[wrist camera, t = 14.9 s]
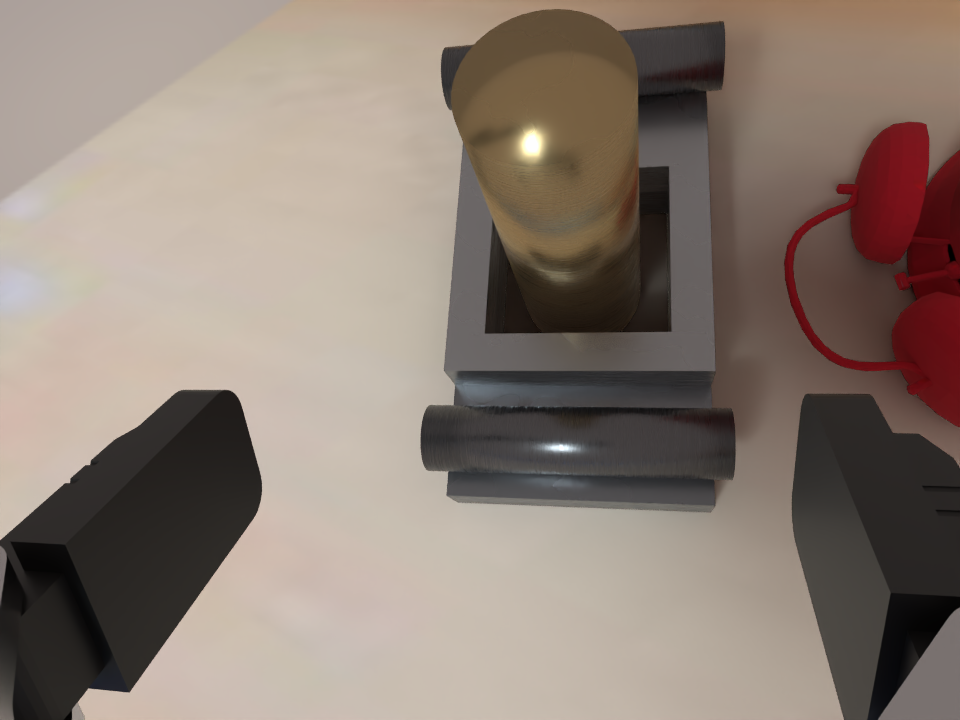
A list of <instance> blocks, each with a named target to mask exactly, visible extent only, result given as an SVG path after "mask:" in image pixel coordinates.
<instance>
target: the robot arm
mask: <svg viewBox="0 0 960 720" xmlns="http://www.w3.org/2000/svg"><path fill="white" fill-rule="evenodd" d="M261 495H262V481H261V475H260V471H259V467H258V464H257V460H256V456H255V453H254V449H253V446H252V442H251V438H250V435H249V431H248V427H247V424H246V420H245V416H244V413H243V409H242V406H241V403H240V401H239V399H238V397H237V396H236V395H235V394H234V393H233V392H231V391H229V390H181V391H178V392H177V393H175V394H174V395H173V396H172V397H171V398H170V399H168V400H167V401H166V402H165V403H164V404H163V405H162V406H161V407H160V408H158V409H157V410H156V411H155V412H154V413H153V414H152V415H151V416H150V417H148V418H147V419H146V420H145V421H144V422H143V423H142V424H141V425H139V426H138V427H137V428H135V429H133V430H131V431H129V432H128V433H126V434H124V435H122V436H120V437H119V438H117V439H115V440H114V441H113V442H111V443H110V444H109V445H108V446H107V447H106V448H105V449H104V450H102V451H101V452H100V453H99V454H98V455H97V456H96V457H94V458H93V459H92V460H91V464H90V465H85V466H84V467H83V468H82V469H81V470H80V471H79V472H77V473H76V474H75V475H74V476H73V477H72V478H71V481H70V483H65V484H64V485H63V486H62V487H60V488H59V489H58V490H57V491H56V492H55V493H54V494H52V495H51V496H50V497H49V498H48V499H47V500H46V501H44V502H43V503H42V504H41V505H40V506H39V507H38V508H37V509H35V510H34V511H33V512H32V513H31V514H30V515H29V516H27V517H26V518H25V519H24V520H23V521H22V522H21V523H20V524H18V525H17V526H16V527H15V528H14V529H13V530H12V531H10V532H9V533H8V534H7V535H6V536H5V537H4V538H2V539H1V540H0V720H85V716H84V714H83V712H82V710H81V708H80V706H79V704H78V701H79V700H80V698H81V697H82V696H83V695H84V693H85V692H86V691H87V689H88V688H90V689H100V690H110V691H120V692H130V691H131V689H132V688H133V687H134V685H135V684H136V682H137V681H138V680H139V678H140V677H141V675H142V674H143V673H144V671H145V670H146V668H147V667H148V666H149V664H150V663H151V661H152V660H153V659H154V657H155V656H156V654H157V653H158V652H159V650H160V649H161V647H162V646H163V645H164V643H165V642H166V640H167V639H168V638H169V636H170V635H171V633H172V632H173V631H174V629H175V628H176V626H177V625H178V624H179V622H180V621H181V619H182V618H183V617H184V615H185V614H186V612H187V611H188V610H189V608H190V607H191V605H192V604H193V603H194V601H195V600H196V598H197V597H198V596H199V594H200V593H201V591H202V590H203V589H204V587H205V586H206V584H207V583H208V582H209V580H210V579H211V577H212V576H213V575H214V573H215V572H216V570H217V569H218V568H219V566H220V565H221V563H222V562H223V561H224V559H225V558H226V556H227V555H228V554H229V552H230V551H231V549H232V548H233V547H234V545H235V544H236V542H237V541H238V540H239V538H240V537H241V535H242V534H243V533H244V531H245V530H246V528H247V527H248V526H249V524H250V523H251V521H252V520H253V519H254V517H255V515H256V513H257V511H258V508H259V505H260V501H261ZM792 522H793V531H794V537H795V542H796V546H797V550H798V553H799V557H800V561H801V564H802V568H803V571H804V575H805V579H806V582H807V586H808V590H809V593H810V597H811V601H812V604H813V608H814V612H815V615H816V619H817V622H818V626H819V630H820V633H821V637H822V641H823V644H824V648H825V652H826V655H827V659H828V663H829V666H830V670H831V673H832V677H833V681H834V684H835V688H836V692H837V695H838V699H839V703H840V706H841V710H842V714H843V717H844V720H960V468H959V466H958V465H957V463H956V461H955V460H954V458H952V457H951V456H949V455H948V454H947V453H945V452H944V451H942V450H941V449H940V448H938V447H937V446H935V445H934V444H932V443H931V442H930V441H928V440H927V439H925V438H924V437H923V436H921V435H920V434H898V433H892V431H891V429H890V427H889V425H888V423H887V422H886V420H885V418H884V416H883V414H882V413H881V411H880V409H879V407H878V405H877V404H876V402H875V400H874V398H873V397H872V396H871V395H870V394H806V395H805V396H804V398H803V402H802V406H801V413H800V422H799V432H798V442H797V452H796V462H795V471H794V481H793V491H792Z"/></svg>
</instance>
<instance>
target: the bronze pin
mask: <svg viewBox="0 0 960 720" xmlns="http://www.w3.org/2000/svg"><path fill="white" fill-rule="evenodd" d="M451 105H452V112H453V116H454V119H455V122H456V125H457V127H458V130H459V133H460V135H461V138H462V140H463V143H464V146H465V148H466V151H467V153H468V156H469V159H470V161H471V164H472V167H473V169H474V172H475V174H476V177H477V180H478V182H479V185H480V187H481V190H482V193H483V195H484V198H485V200H486V203H487V206H488V208H489V211H490V213H491V216H492V219H493V221H494V224H495V226H496V229H497V232H498V234H499V237H500V240H501V242H502V245H503V247H504V250H505V253H506V255H507V258H508V260H509V263H510V266H511V268H512V271H513V273H514V276H515V279H516V281H517V284H518V286H519V289H520V292H521V294H522V297H523V299H524V302H525V305H526V307H527V310H528V312H529V315H530V317H531V319H532V320H533V322H534V323H535V325H536V326H537V327H538V328H539V329H540V330H541V331H542V332H543V333H609V332H619V331H621V330H622V329H623V328H624V327H625V326H626V325H627V324H628V323H629V321H630V320H631V318H632V317H633V315H634V313H635V311H636V309H637V306H638V303H639V299H640V220H639V137H638V74H637V65H636V61H635V57H634V55H633V53H632V50H631V48H630V47H629V45H628V43H627V42H626V40H625V39H624V38H623V37H622V36H621V34H620V33H619V32H618V31H617V30H615V29H614V28H613V27H612V26H611V25H609V24H607V23H606V22H604V21H603V20H601V19H599V18H596V17H594V16H592V15H589V14H586V13H582V12H578V11H572V10H561V9H553V10H541V11H535V12H531V13H527V14H523V15H520V16H517V17H515V18H512V19H510V20H508V21H506V22H504V23H502V24H500V25H498V26H497V27H495V28H494V29H492V30H490V31H489V32H488V33H487V34H485V35H484V36H483V37H481V38H480V39H479V40H478V41H477V42H476V43H475V44H474V45H473V47H472V48H471V49H470V50H469V51H468V53H467V54H466V55H465V57H464V59H463V60H462V62H461V63H460V65H459V68H458V70H457V72H456V75H455V78H454V81H453V85H452V91H451Z"/></svg>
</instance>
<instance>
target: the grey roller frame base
mask: <svg viewBox="0 0 960 720" xmlns="http://www.w3.org/2000/svg"><path fill="white" fill-rule="evenodd" d="M618 32H619V33H620V34H621V36H622V37H623V38H624V39H625V40H626V42H627V43H628V45H629V47H630V48H631V50H632V53H633V55H634V57H635V61H636V65H637V74H638V137H639V214H657V213H667V286H668V332H609V333H509V334H504V318H505V301H506V284H507V267H508V258H507V255H506V253H505V250H504V247H503V245H502V242H501V240H500V237H499V234H498V232H497V229H496V226H495V224H494V221H493V219H492V216H491V213H490V211H489V208H488V206H487V203H486V200H485V198H484V195H483V193H482V190H481V187H480V185H479V182H478V180H477V177H476V174H475V172H474V169H473V167H472V164H471V161H470V159H469V156H468V153H467V151H466V148H465V146H464V143H463V151H462V162H461V174H460V186H459V198H458V210H457V222H456V234H455V245H454V257H453V269H452V281H451V293H450V305H449V317H448V329H447V340H446V352H445V364H444V371H445V373H446V374H447V375H448V376H449V378H450V379H451V380H452V381H453V382H454V384H455V396H454V405H429V406H428V407H427V409H426V411H425V413H424V416H423V421H422V427H421V455H422V460H423V464H424V466H425V468H426V470H428V471H449V472H448V484H447V496H448V497H450V498H451V499H453V500H455V501H456V502H462V503H487V504H512V505H537V506H563V507H588V508H613V509H639V510H664V511H689V512H711V511H712V510H713V508H714V507H715V489H714V480H733V477H734V470H735V425H734V417H733V412H732V409H731V408H712V393H711V385H712V382H713V378H714V375H715V371H716V367H715V337H714V307H713V277H712V247H711V217H710V187H709V157H708V127H707V97H706V91H715V90H721V89H722V84H723V77H724V63H725V28H724V22H723V21H719V22H709V23H698V24H688V25H677V26H667V27H656V28H645V29H635V30H624V31H618ZM472 47H473V45H466V46H455V47H445V48H444V50H443V53H442V59H441V78H442V87H443V93H444V97H445V101H446V104H447V106H448V108H449V110H452V105H451V91H452V85H453V81H454V78H455V75H456V72H457V70H458V68H459V65H460V63H461V62H462V60H463V59H464V57H465V55H466V54H467V53H468V51H469V50H470V49H471V48H472Z"/></svg>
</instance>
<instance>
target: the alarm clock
mask: <svg viewBox="0 0 960 720" xmlns="http://www.w3.org/2000/svg"><path fill="white" fill-rule="evenodd" d="M928 168H929V135H928V131H927V126H926V124H923V123H920V122H905V123H898V124H893V125H891V126H890V127H888V128H886V129H885V130H883V131H882V132H881V133H880V134H879V135H878V136H877V137H876V138H875V139H874V140H873V141H872V143H871V145H870V146H869V148H868V149H867V151H866V153H865V155H864V157H863V159H862V162H861V165H860V168H859V171H858V175H857V178H856V181H855V184H839V185H838V186H837V189H836V191H837V193H838V194H851V197H850V199H849V201H848V202H847V203H845V204H842V205H839V206H836V207H833V208H831V209H828V210H826V211H824V212H822V213H821V214H819V215H817V216H815V217H813V218H812V219H810V220H808V221H807V222H805V223H804V224H803V225H802V226H801V227H800V228H799V229H798V230H797V231H796V232H795V233H794V235H793V237H792V239H791V240H790V242H789V244H788V245H787V251H786V256H785V261H784V266H785V281H786V285H787V289H788V294H789V298H790V302H791V306H792V308H793V310H794V313H795V315H796V317H797V319H798V322H799V324H800V326H801V328H802V330H803V332H804V333H805V335H806V336H807V338H808V339H809V341H810V342H811V343H812V345H813V346H814V348H816V349H817V350H818V351H819V352H820V353H821V354H823V355H824V356H825V357H826V358H827V359H828V360H830V361H832V362H834V363H836V364H838V365H840V366H843V367H846V368H851V369H855V370H862V371H882V370H901V372H902V374H903V376H904V378H905V379H906V381H907V382H908V383H909V385H908V386H907V390H908V393H910V394H912V395H915V394H917V395H918V396H919V398H920V399H921V400H922V401H924V402H925V403H926V404H927V405H928V406H929V407H930V408H931V409H932V410H934V411H935V412H936V413H937V414H938V415H940V416H941V417H943V418H944V419H946V420H948V421H949V422H951V423H952V424H954V425H956V426H958V427H960V150H959V151H958V152H957V153H956V154H955V155H953V156H952V157H951V158H950V159H949V160H948V161H947V162H946V163H945V164H944V165H943V167H942V168H941V169H940V170H939V171H938V172H937V174H936V175H935V176H934V178H933V179H932V181H931V182H930V184H929V185H928V187H927V188H926V183H927V175H928ZM849 209H851V229H852V237H853V240H854V243H855V246H856V249H857V250H858V251H859V252H860V253H861V254H862V255H863V256H864V257H865V258H866V259H868V260H872V261H875V262H879V263H885V264H892V265H893V264H894V263H896V262H897V261H899V260H900V259H901V258H902V256H903V254H904V253H905V251H906V250H907V248H908V271H909V275H910V277H907V276H906V273H904V272H902V273H898V274H896V275H895V276H894V277H895V280H896V283H897V285H898V288H899V291H900V290H906V289H908V288H910V283H912V287H913V290H914V294H915V296H916V299H917V300H916V301H915V302H913V303H912V304H911V305H910V306H909V307H907V308H906V309H905V310H904V311H903V312H901V314H900V315H899V317H898V319H897V321H896V323H895V325H894V327H893V330H892V347H893V352H894V355H895V359H896V361H893V362H858V361H854V360H850V359H846V358H843V357H842V356H840V355H838V354H836V353H834V352H833V351H831V350H830V349H829V348H828V347H826V346H825V345H824V344H823V342H822V341H821V340H820V339H819V338H818V337H817V335H816V334H815V333H814V331H813V329H812V328H811V326H810V324H809V322H808V320H807V318H806V316H805V313H804V311H803V308H802V306H801V303H800V301H799V298H798V295H797V291H796V285H795V280H794V272H793V262H794V253H795V250H796V247H797V244H798V242H799V241H800V239H801V238H802V236H803V235H804V234H805V233H806V232H807V231H808V230H810V229H811V228H812V227H813V226H815V225H817V224H819V223H821V222H822V221H824V220H826V219H828V218H830V217H832V216H835V215H837V214H839V213H842V212H844V211H847V210H849Z"/></svg>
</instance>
